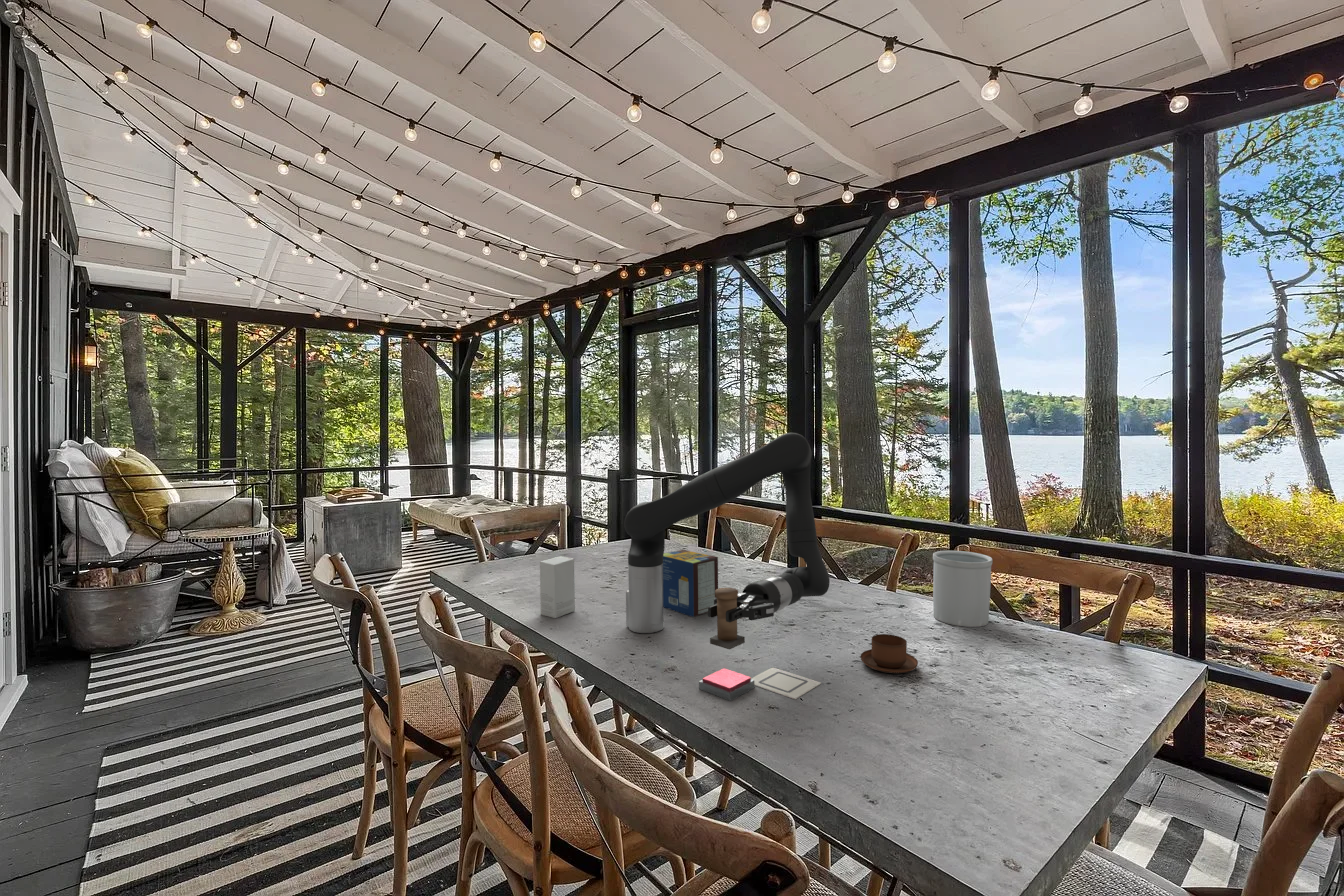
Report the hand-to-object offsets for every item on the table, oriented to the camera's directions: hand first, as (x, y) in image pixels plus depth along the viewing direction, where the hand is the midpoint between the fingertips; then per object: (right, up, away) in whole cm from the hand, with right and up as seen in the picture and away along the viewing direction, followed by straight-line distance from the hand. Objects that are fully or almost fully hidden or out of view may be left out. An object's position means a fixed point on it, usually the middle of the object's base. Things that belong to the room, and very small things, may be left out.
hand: (718, 614), depth 123 cm
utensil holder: (+70, -14, +46) cm, 85 cm away
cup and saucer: (+39, -15, +13) cm, 44 cm away
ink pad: (+2, -16, +3) cm, 16 cm away
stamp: (+2, -6, +2) cm, 7 cm away
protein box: (-5, -14, +58) cm, 60 cm away
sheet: (+14, -16, +5) cm, 21 cm away
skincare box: (-42, -14, +54) cm, 70 cm away
